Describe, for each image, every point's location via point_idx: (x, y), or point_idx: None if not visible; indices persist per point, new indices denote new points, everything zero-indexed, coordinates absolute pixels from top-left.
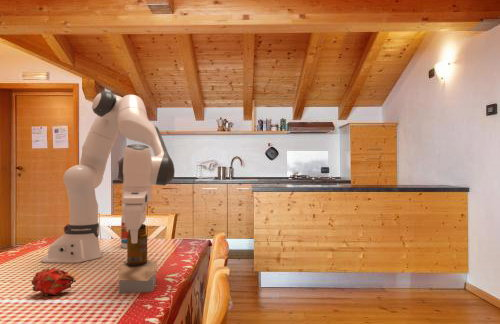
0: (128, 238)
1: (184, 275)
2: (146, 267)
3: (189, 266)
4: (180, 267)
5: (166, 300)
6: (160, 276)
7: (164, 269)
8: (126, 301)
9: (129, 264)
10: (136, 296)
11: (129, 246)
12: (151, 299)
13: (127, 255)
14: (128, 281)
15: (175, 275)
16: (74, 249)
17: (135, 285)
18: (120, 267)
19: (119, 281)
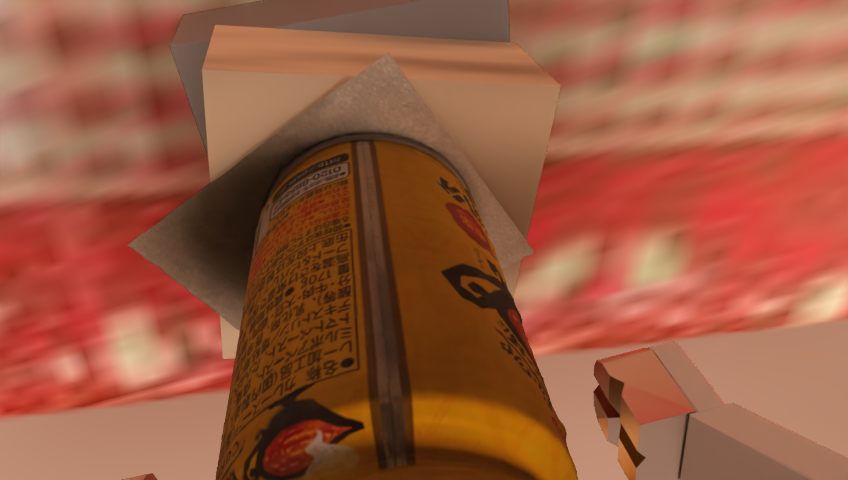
0: (250, 418)
1: (621, 333)
2: (230, 349)
3: (824, 308)
4: (822, 263)
5: (104, 379)
6: (630, 198)
7: (811, 173)
8: (4, 151)
9: (277, 182)
10: (138, 183)
11: (252, 331)
12: (99, 297)
13: (305, 200)
14: (201, 133)
15: (633, 285)
16: None
17: None
18: (205, 91)
19: (172, 51)
